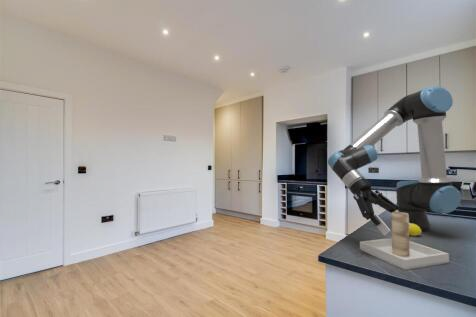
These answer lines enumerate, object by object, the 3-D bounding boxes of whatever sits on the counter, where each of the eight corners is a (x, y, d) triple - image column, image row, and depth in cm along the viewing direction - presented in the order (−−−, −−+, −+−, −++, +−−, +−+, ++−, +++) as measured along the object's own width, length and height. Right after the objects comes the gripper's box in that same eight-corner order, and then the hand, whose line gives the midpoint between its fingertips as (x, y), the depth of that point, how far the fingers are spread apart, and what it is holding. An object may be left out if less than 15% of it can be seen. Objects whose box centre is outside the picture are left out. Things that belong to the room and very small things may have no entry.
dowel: (399, 250, 87) (398, 211, 87) (413, 255, 82) (412, 214, 82) (388, 252, 86) (387, 212, 86) (401, 257, 81) (400, 215, 81)
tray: (398, 245, 95) (397, 237, 95) (449, 263, 77) (448, 253, 78) (359, 249, 90) (359, 241, 90) (405, 270, 73) (404, 260, 73)
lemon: (421, 236, 107) (423, 224, 107) (420, 239, 103) (422, 227, 103) (402, 231, 112) (404, 220, 111) (400, 234, 108) (402, 222, 107)
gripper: (368, 187, 106) (407, 230, 93) (330, 191, 93) (369, 241, 80) (380, 176, 102) (423, 219, 88) (342, 178, 89) (386, 229, 76)
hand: (398, 230), depth 84 cm, fingers open, 13 cm apart
